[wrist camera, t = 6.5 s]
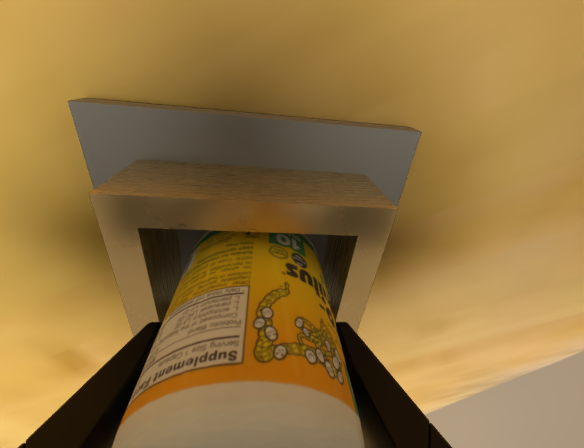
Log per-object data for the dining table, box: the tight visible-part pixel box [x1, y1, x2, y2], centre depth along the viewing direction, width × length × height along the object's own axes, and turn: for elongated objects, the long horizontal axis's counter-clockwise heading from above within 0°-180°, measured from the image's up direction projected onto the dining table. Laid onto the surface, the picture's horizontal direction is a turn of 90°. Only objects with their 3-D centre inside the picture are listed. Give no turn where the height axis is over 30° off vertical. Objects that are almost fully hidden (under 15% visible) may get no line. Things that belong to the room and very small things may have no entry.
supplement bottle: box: [112, 230, 365, 448], centre depth 7 cm, size 5×5×10 cm
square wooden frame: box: [89, 159, 398, 336], centre depth 11 cm, size 8×8×3 cm
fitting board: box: [68, 98, 422, 273], centre depth 14 cm, size 12×20×1 cm, turn 175°
